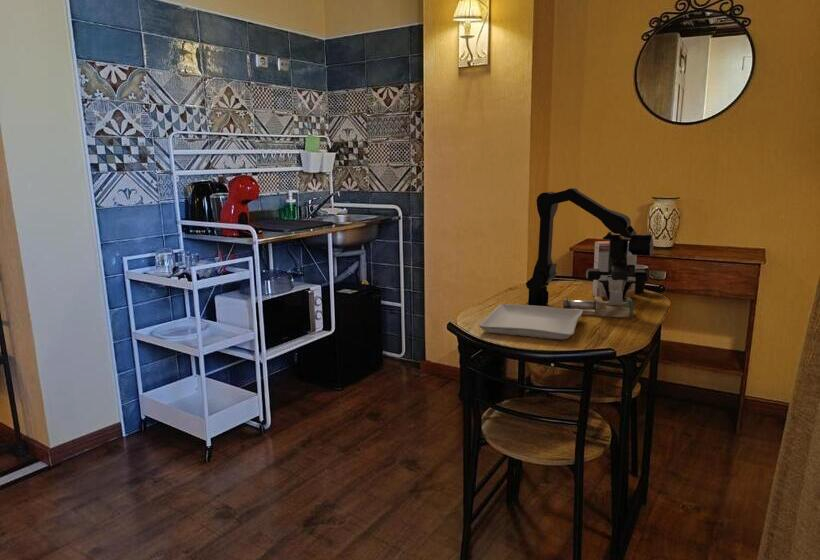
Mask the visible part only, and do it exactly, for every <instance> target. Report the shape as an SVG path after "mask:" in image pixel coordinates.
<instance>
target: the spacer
mask: <svg viewBox="0 0 820 560" xmlns="http://www.w3.org/2000/svg"><path fill="white" fill-rule="evenodd" d="M622 299H623V293H622V291H621V290H609V300H607V302H608V303H609V305H622V302H623V301H622ZM623 300H624V299H623Z"/></svg>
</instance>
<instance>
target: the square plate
mask: <svg viewBox="0 0 820 560" xmlns="http://www.w3.org/2000/svg"><path fill="white" fill-rule="evenodd" d="M582 313H583V311H582V310H574V309H565V308H563V307H555V306H534V305H528V304H514V303H513V304H510V303H509V304H508V303H507V304H506V303H500V304H499V305H497V306H496V308H495V309H493V311H492V312H490V313H489V314H488V315H487V316H486V317H485V319H483V320H482V321H481V322H480V324H479V325H478V327H479V328H480V329H482V330H483V331H484V332H487V333H491V334H500V335H507V334H509V336H516V335H520V336H519V337H526V336H530V337H529V338H536V337H539V338H538V339H546V338H547V340H548V339H549V340H562V341H563V340H566V339H569V338H570V337H571V336H572V335H574V334H575V332H576V326H577V324H578V321H579V320H580V318H581V317H582Z"/></svg>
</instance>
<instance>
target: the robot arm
mask: <svg viewBox="0 0 820 560" xmlns="http://www.w3.org/2000/svg"><path fill="white" fill-rule="evenodd" d="M565 202H571V203H572V204H574V205H576V206H578V207H579V208H581V209H582V210H584V211H585V212H587V213H588V214H590V215H592V216H593V217H595V218H597V219H598V220H599V221H600V222H601V223H602V224H603V226H604V227H605V228H607V229H608V230H609V231H608V232H607V234H606V235H605V236H603V237H602V240H603V241H609V256H608V272H602V271H600V270H599V269H594V268H587V269H586V271H585V277H586V279H587V280H589V281H591V280H592V281H593V280H598V281H599V282H602V284H603V287H604V290H605V293H606V297H607V298H606V300H607V301H608V300H609V281H608V279H607V278H608V277H612V279H613V280H623V285H622V293H623V299H622V302H623V301H624V299H625V298H624V297H625V294H626V292H627V290H628V288H629V287H630V285H631V284H632V283H635V278H636V279H637V280H638V281H646V282H648V281H649V273H648V272H646V271H645V270H635V265H627V251H628V241H629V251H630V253H632V255H637V256H642V257H643V256H644V257H652V255H653V251H654V246H655V245H654V240H653V234H650V233H649V234H637V232H636V230H635V229H634V228H633V226H632V224H631V223H632V221H631V219H630V217H629V215H626V214H624V213H621V212H619V211H616V210H612V209H610V208H607V207H605V206H604V205H602V204H600V203H598V202H597V201H596V200H594V199H593V198H591V197H589V196H588V195H586V194H584V193H583V192H582V191H580V190H578V189H577V188H574V187H571V188H570V187H569V188H567V189H566V190H561V191H558V192H554V191H544V192H542V193H540V194H539V195H538V196H537V197H536V208H537V214H538V216H539V235H538V251H537V252H538V254H537V260H536V263H535V265H534V269H533V271H532V277H531V278H530V279H528V280H527V282H525V285H526V288H527V290H528V298H527V299H528V300H527V305H534V306H546V307H548V304H549V291H548V286H549V284H550V282H552V281H553V280H554V279H555V276H556V275H557V272H556V269H557V266H558V265H557V264H558V263H553V259H552V251H553V250H552V249H553V235H554V233H553V232H554V220H555V219H554V218H555V216H556V213H557V211H558V207H559V204H561V203H565Z"/></svg>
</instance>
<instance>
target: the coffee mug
mask: <svg viewBox="0 0 820 560" xmlns="http://www.w3.org/2000/svg"><path fill="white" fill-rule="evenodd" d="M636 270H645V271H646V272H647V273H648V271H649V266H647V265H643V264H636ZM646 283H647V281H638V280H637V279H636V278H635V295H638V294H637V293H642V294H644V292H645V291H644V290H645V287H646Z"/></svg>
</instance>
